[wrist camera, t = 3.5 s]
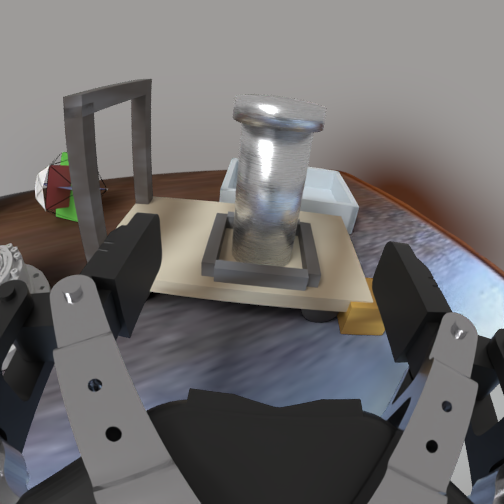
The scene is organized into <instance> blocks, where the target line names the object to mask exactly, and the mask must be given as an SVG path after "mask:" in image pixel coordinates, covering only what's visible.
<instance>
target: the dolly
mask: <svg viewBox="0 0 504 504" xmlns="http://www.w3.org/2000/svg"><path fill="white" fill-rule="evenodd" d="M151 83H152V79H140V80H133V81H128V82H122V83H118V84H113V85H108V86H104V87H99V88H95V89H91V90H88V91H83V92H80V93H76V94H72V95H69V96H65V97H63V103H64V121H65V135H66V145H67V155H68V163H69V171H70V178H71V185H72V191H73V197H74V203H75V209H76V214H77V219H78V224H79V229H80V234H81V238H82V243H83V247H84V251H85V255H86V259H87V263H88V262H89V260H90V259H91V258H92V256H93V255H94V253H95V252H96V251H97V250H98V248H99V247H100V245H101V244H102V243H104V240H105V239H106V238H107V233H106V227H105V221H104V214H103V208H102V201H101V193H100V185H99V176H98V167H97V156H96V144H95V128H94V112H97V111H99V110H102V109H105V108H107V107H110V106H113V105H116V104H118V103H122V102H125V101H128V100H131V101H132V102H131V115H132V116H131V117H132V151H133V152H132V153H133V171H134V187H135V199H136V204H135V205H134V206H133V208H132V209H131V210H130V211H129V213H128V214H127V215H126V216H125V218H124V219H123V220H122V221H121V223H120V224H119V225H118V226H117V228H118V227H119V226H121V225H127V224H128V223H129V222H130V220H131V219H132V218H133V216H134V215H135V214H136V213H137V212H140V213H152V214H158V215H159V218H160V230H161V243H162V262H161V267H160V269H159V272H158V274H157V276H156V278H155V280H154V283H153V285H152V287H151V289H150V292H149V294H148V296H147V298H148V297H149V295H150V293H151V292H157V293H164V294H171V295H179V296H186V297H194V298H202V299H210V300H219V301H227V302H236V303H246V304H255V305H265V306H276V307H287V308H299V309H302V314H303V316H304V317H305V318H306V319H308V320H309V321H312V322H326V321H329V320H331V319H333V318H334V317H336V316H337V318H338V323H339V328H340V333H341V334H354V335H383V333H384V331H385V328H384V324H383V321H382V318H381V315H380V312H379V309H378V306H377V303H376V300H375V297H374V294H373V291H372V280H373V278H365V276H364V274H363V271H362V268H361V265H360V263H359V260H358V257H357V255H356V252H355V249H354V247H353V244H352V242H351V239H350V237H349V234H348V232H347V229H346V227H345V224H344V222H343V219H342V217H341V216H335V215H327V214H320V213H312V212H304V211H300V213H299V218H298V224H297V229H296V234H295V239H294V244H293V249H292V254H291V259H290V261H289V263H288V264H287V265H286V266H284V267H280V266H270V265H261V264H251V263H242V262H237V261H236V260H235V259H234V257H233V255H232V239H233V225H234V211H235V204H233V203H223V202H213V201H202V200H190V199H178V198H165V197H153V190H152V167H151ZM147 298H146V299H147Z"/></svg>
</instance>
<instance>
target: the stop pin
mask: <svg viewBox="0 0 504 504" xmlns="http://www.w3.org/2000/svg"><path fill="white" fill-rule="evenodd" d="M326 110H327V108H326V107H324V106H322V105H319V104H316V103H312V102H308V101H303V100H298V99H293V98H287V97H280V96H271V95H254V94H250V95H249V94H248V95H246V94H245V95H236V96H235V98H234V110H233V119H234V120H236V121H238V122H240V123H242V125H241V137H240V148H239V160H238V172H237V185H236V198H235V211H234V225H233V239H232V255H233V257H234V259H235V260H236V261H237V262H242V263H251V264H261V265H270V266H280V267H284V266H286V265H287V264H288V263H289V261H290V259H291V254H292V249H293V244H294V239H295V234H296V229H297V224H298V218H299V213H300V208H301V202H302V197H303V191H304V186H305V180H306V175H307V169H308V163H309V157H310V151H311V145H312V139H313V133H314V132H320V131H322V130H323V128H324V122H325V116H326Z"/></svg>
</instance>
